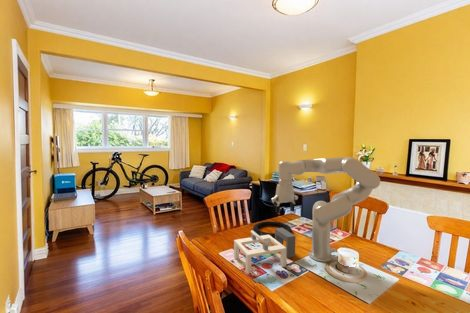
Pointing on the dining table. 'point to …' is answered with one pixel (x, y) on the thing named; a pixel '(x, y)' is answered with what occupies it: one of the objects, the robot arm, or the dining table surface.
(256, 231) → the cable lock
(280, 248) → the cream frame with rod
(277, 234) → the grey piece
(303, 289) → the dining table surface
